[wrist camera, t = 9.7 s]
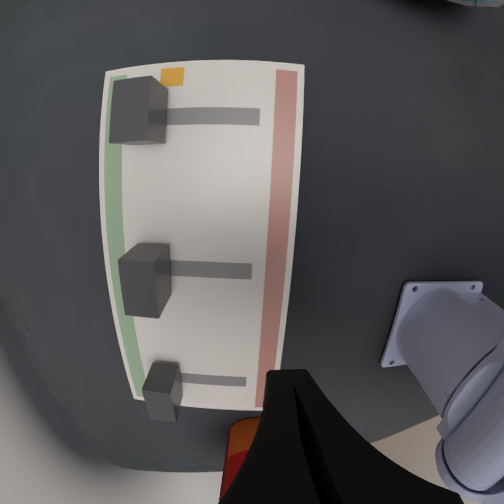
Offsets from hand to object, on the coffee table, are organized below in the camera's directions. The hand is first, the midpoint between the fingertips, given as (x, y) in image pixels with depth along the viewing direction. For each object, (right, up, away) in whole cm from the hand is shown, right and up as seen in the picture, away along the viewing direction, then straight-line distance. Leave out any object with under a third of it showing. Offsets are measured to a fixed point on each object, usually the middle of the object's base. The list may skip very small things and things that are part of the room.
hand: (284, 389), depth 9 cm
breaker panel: (-5, +4, +9) cm, 11 cm away
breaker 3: (-7, -5, +10) cm, 14 cm away
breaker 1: (-7, +12, +5) cm, 15 cm away
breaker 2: (-7, +4, +8) cm, 11 cm away
